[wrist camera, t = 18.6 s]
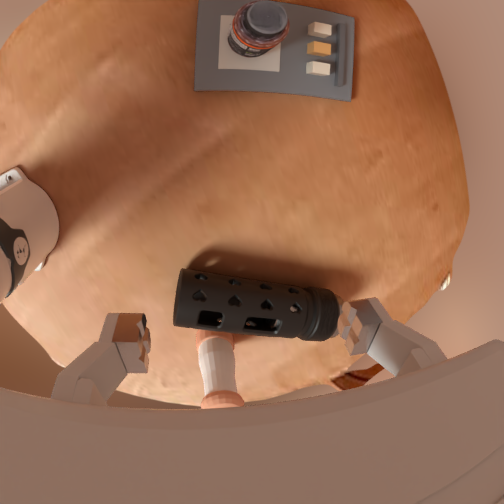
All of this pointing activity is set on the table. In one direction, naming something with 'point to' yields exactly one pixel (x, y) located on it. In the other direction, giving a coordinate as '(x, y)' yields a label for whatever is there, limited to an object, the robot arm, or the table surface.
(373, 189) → the table surface
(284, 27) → the supplement bottle
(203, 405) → the pepper shaker
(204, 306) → the muzzle brake
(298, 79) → the breaker board
